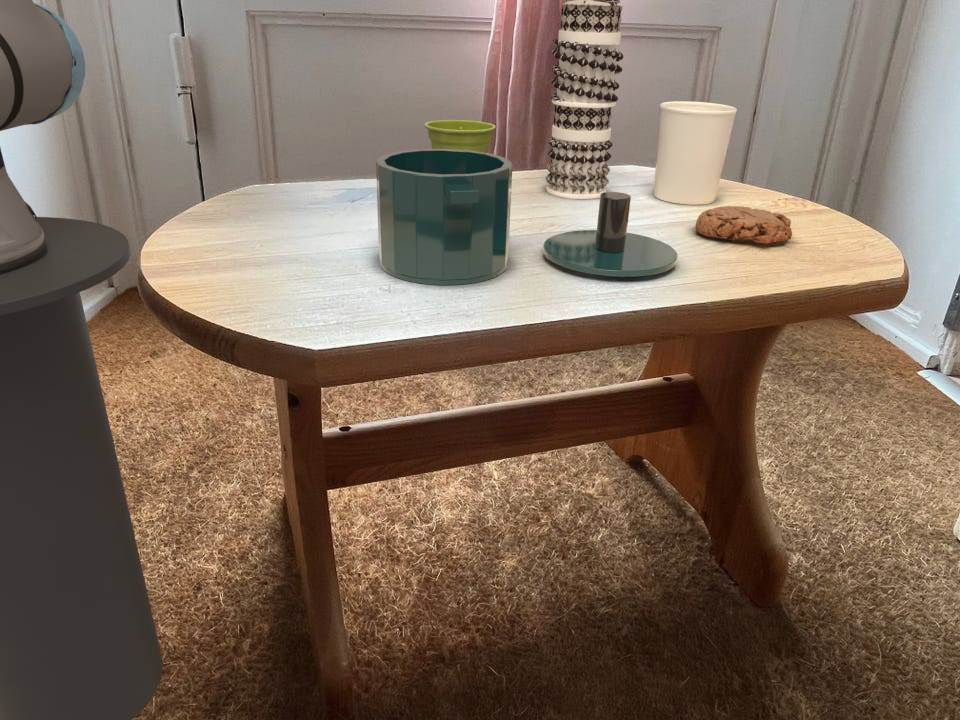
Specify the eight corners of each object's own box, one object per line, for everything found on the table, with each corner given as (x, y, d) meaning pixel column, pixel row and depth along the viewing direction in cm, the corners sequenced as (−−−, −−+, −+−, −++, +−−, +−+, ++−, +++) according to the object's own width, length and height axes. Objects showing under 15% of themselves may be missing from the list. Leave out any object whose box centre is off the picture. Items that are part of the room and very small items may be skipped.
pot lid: (568, 286, 68) (574, 215, 65) (526, 243, 80) (530, 181, 77) (700, 278, 71) (712, 210, 68) (641, 238, 83) (649, 178, 80)
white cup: (721, 193, 104) (736, 104, 99) (720, 209, 96) (738, 113, 91) (651, 186, 107) (662, 99, 101) (644, 202, 98) (657, 108, 93)
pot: (392, 299, 64) (389, 184, 60) (371, 239, 80) (367, 144, 75) (530, 291, 67) (537, 181, 62) (483, 234, 83) (486, 143, 78)
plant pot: (439, 179, 107) (439, 117, 103) (501, 185, 104) (503, 122, 101) (414, 193, 99) (414, 126, 95) (481, 200, 96) (483, 132, 93)
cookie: (680, 225, 88) (684, 200, 87) (759, 222, 91) (764, 198, 89) (721, 250, 80) (726, 223, 78) (808, 247, 82) (814, 220, 81)
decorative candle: (529, 188, 103) (540, -11, 92) (576, 181, 108) (592, -9, 97) (574, 202, 97) (592, -10, 86) (622, 194, 102) (645, -8, 91)
